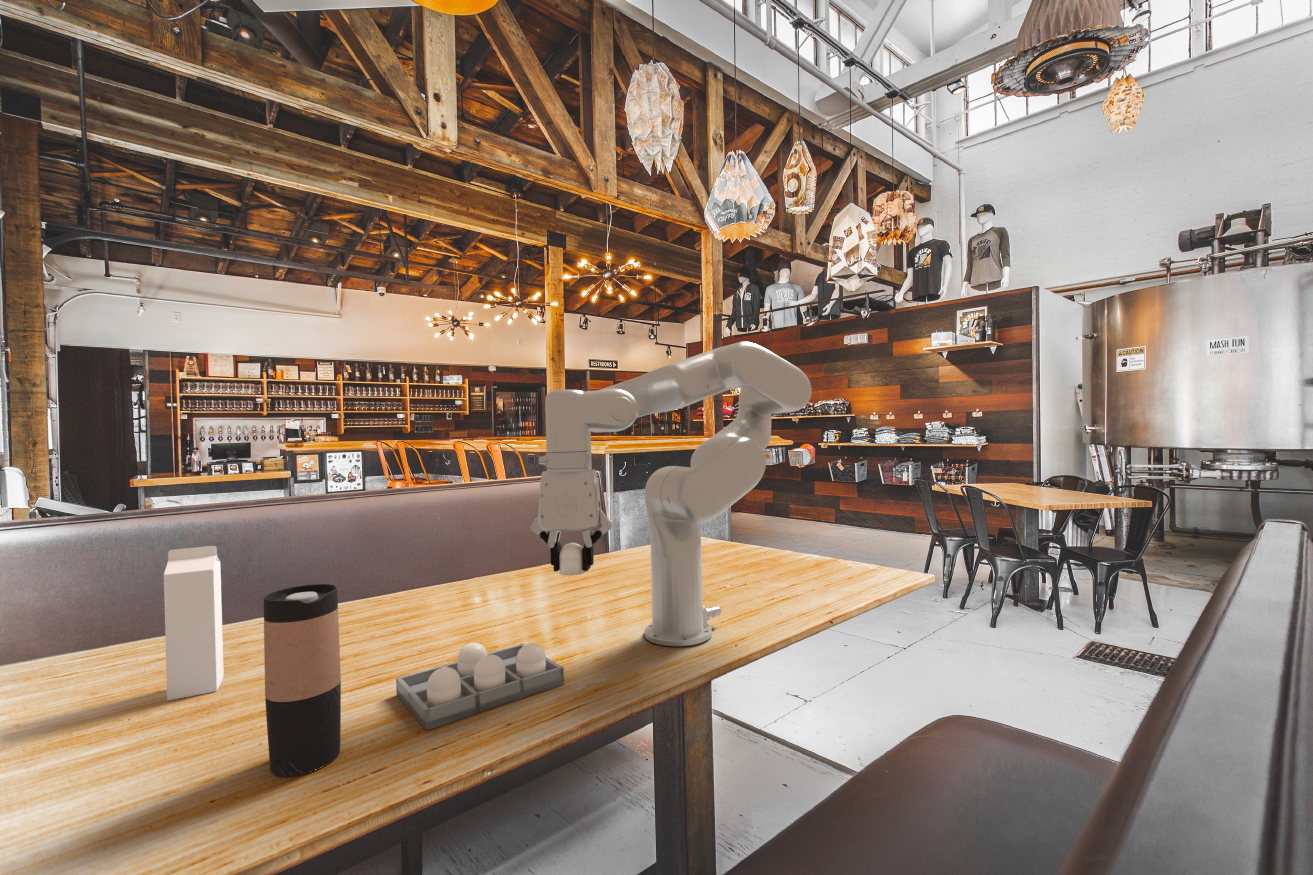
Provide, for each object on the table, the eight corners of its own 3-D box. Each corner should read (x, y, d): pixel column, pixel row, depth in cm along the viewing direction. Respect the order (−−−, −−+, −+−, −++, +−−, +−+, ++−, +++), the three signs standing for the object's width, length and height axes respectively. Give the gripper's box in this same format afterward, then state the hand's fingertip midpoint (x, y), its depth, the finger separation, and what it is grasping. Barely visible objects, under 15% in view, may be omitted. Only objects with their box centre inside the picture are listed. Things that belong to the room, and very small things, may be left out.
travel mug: (290, 744, 71) (285, 585, 71) (354, 740, 72) (349, 582, 72) (252, 781, 63) (247, 602, 63) (323, 776, 64) (318, 599, 64)
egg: (576, 567, 100) (576, 539, 100) (590, 572, 96) (589, 542, 96) (554, 572, 97) (553, 543, 97) (567, 576, 94) (567, 546, 94)
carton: (523, 657, 97) (522, 623, 97) (564, 683, 86) (562, 644, 86) (396, 694, 84) (395, 654, 84) (426, 730, 74) (424, 684, 74)
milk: (217, 691, 87) (213, 548, 87) (166, 701, 84) (162, 553, 84) (224, 677, 92) (220, 542, 92) (176, 686, 90) (172, 546, 89)
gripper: (513, 464, 94) (517, 575, 94) (614, 462, 92) (617, 574, 92) (528, 462, 101) (531, 564, 101) (621, 460, 100) (624, 564, 100)
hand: (572, 568), depth 97 cm, fingers closed on egg, 4 cm apart
